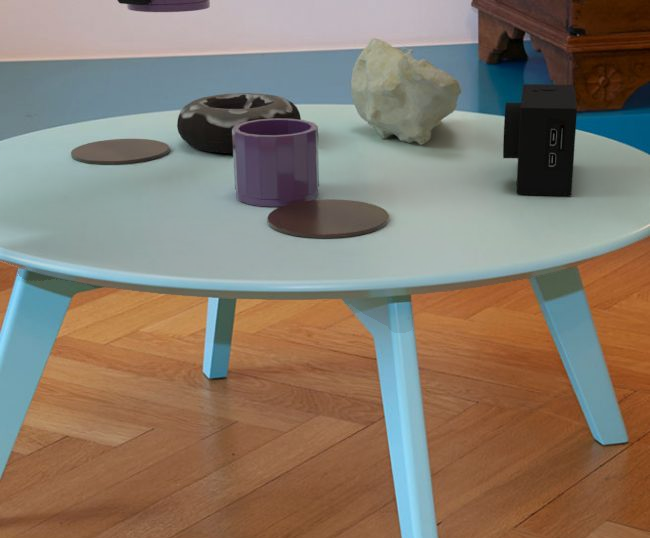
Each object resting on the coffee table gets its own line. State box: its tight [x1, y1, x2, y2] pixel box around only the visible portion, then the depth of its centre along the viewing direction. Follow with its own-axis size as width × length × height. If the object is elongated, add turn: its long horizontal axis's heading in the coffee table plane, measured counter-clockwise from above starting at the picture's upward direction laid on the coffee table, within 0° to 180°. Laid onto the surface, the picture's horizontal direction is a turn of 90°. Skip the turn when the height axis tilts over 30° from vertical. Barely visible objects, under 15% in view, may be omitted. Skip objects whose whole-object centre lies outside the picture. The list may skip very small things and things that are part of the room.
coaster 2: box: [267, 198, 390, 239], centre depth 84 cm, size 9×9×1 cm
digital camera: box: [502, 83, 578, 197], centre depth 93 cm, size 10×5×7 cm, turn 170°
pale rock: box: [350, 37, 462, 145], centre depth 106 cm, size 18×10×7 cm
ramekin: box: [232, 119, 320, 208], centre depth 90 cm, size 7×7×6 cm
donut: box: [176, 92, 302, 154], centre depth 107 cm, size 12×12×4 cm
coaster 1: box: [70, 138, 170, 165], centre depth 105 cm, size 9×9×1 cm
